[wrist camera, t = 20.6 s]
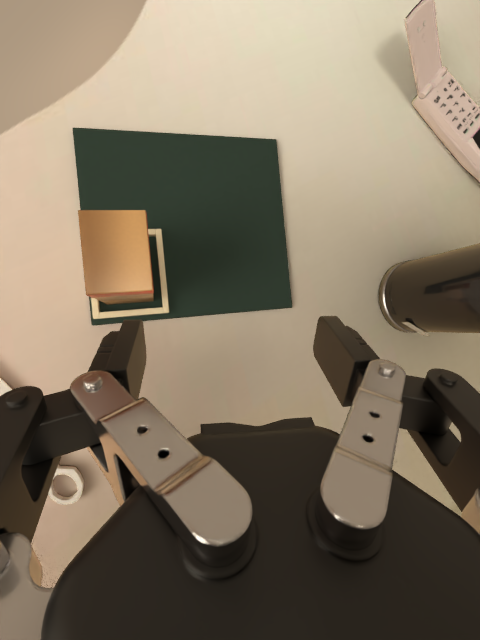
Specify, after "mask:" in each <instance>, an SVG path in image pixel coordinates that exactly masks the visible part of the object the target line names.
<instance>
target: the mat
mask: <svg viewBox="0 0 480 640" xmlns="http://www.w3.org/2000/svg"><path fill="white" fill-rule="evenodd" d="M73 136H74V146H75V156H76V167H77V177H78V187H79V198H80V208H81V210H145V211H146V214H147V225H148V235H149V246H150V256H151V267H152V277H153V288H154V293H153V296H154V301H151V302H138V303H124V304H110V305H107V304H105V303H103V302H101V301H99V300H97V299H95V298H91V297H89V301H90V311H91V322H92V325H102V324H113V323H123V321H124V320H142V321H147V320H158V319H169V318H181V317H192V316H203V315H214V314H225V313H236V312H248V311H259V310H270V309H281V308H292V301H291V290H290V280H289V269H288V259H287V248H286V237H285V227H284V216H283V206H282V195H281V185H280V174H279V164H278V153H277V142H276V139H259V138H241V137H224V136H207V135H190V134H173V133H155V132H138V131H121V130H104V129H87V128H73Z"/></svg>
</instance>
